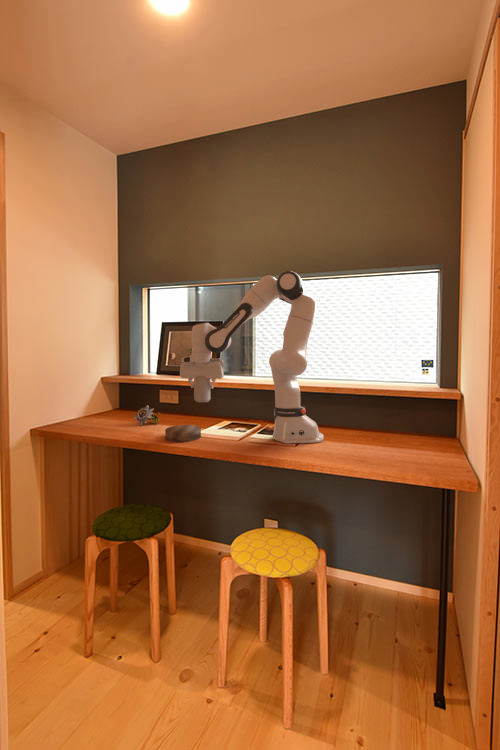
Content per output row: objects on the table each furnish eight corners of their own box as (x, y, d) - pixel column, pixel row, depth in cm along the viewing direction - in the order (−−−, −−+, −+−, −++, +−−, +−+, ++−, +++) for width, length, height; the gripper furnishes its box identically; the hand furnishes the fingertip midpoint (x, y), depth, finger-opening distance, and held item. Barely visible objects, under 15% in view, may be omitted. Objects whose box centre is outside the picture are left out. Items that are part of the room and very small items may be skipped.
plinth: (205, 433, 192) (204, 424, 192) (194, 442, 176) (194, 433, 176) (173, 432, 195) (172, 424, 194) (160, 441, 179) (159, 433, 179)
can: (206, 403, 183) (206, 376, 182) (191, 402, 185) (191, 376, 184) (212, 400, 190) (212, 375, 189) (198, 399, 192) (197, 374, 191)
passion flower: (142, 435, 213) (128, 417, 213) (153, 426, 223) (139, 409, 223) (156, 424, 209) (141, 406, 208) (166, 416, 219) (152, 399, 218)
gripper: (225, 357, 187) (225, 387, 188) (183, 357, 191) (183, 386, 192) (221, 358, 181) (222, 389, 182) (178, 358, 184) (178, 388, 186)
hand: (202, 388), depth 187 cm, fingers closed on can, 7 cm apart
